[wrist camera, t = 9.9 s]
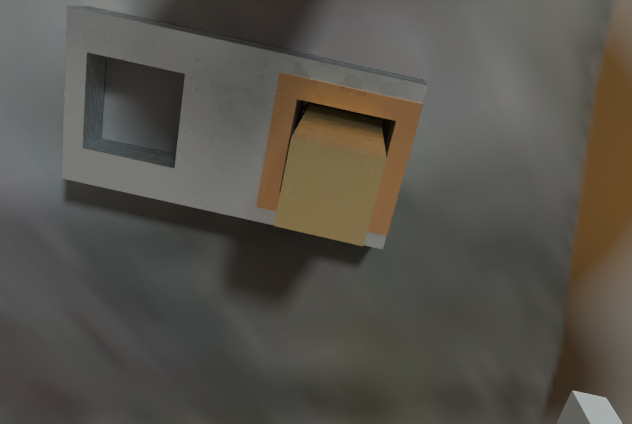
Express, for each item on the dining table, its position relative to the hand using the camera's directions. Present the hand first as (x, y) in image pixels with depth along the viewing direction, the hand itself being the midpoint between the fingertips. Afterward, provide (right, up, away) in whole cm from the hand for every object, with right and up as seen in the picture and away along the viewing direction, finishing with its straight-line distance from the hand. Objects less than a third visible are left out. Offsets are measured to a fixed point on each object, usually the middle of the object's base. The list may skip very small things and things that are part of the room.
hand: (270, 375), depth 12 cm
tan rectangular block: (+2, +8, +21) cm, 23 cm away
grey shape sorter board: (-3, +9, +21) cm, 23 cm away
